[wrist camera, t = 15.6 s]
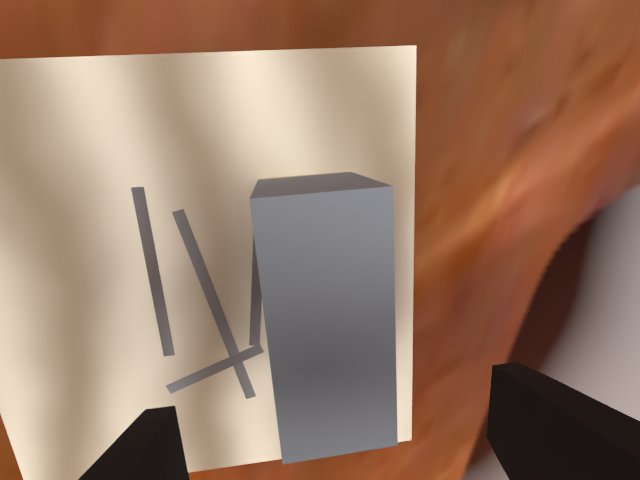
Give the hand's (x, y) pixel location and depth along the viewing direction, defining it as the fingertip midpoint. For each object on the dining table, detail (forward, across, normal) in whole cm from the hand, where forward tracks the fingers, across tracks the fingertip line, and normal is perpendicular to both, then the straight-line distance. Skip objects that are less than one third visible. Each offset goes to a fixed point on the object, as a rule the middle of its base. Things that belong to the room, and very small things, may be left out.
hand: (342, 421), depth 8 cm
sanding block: (+9, 0, 0) cm, 9 cm away
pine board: (+10, +5, 0) cm, 11 cm away
